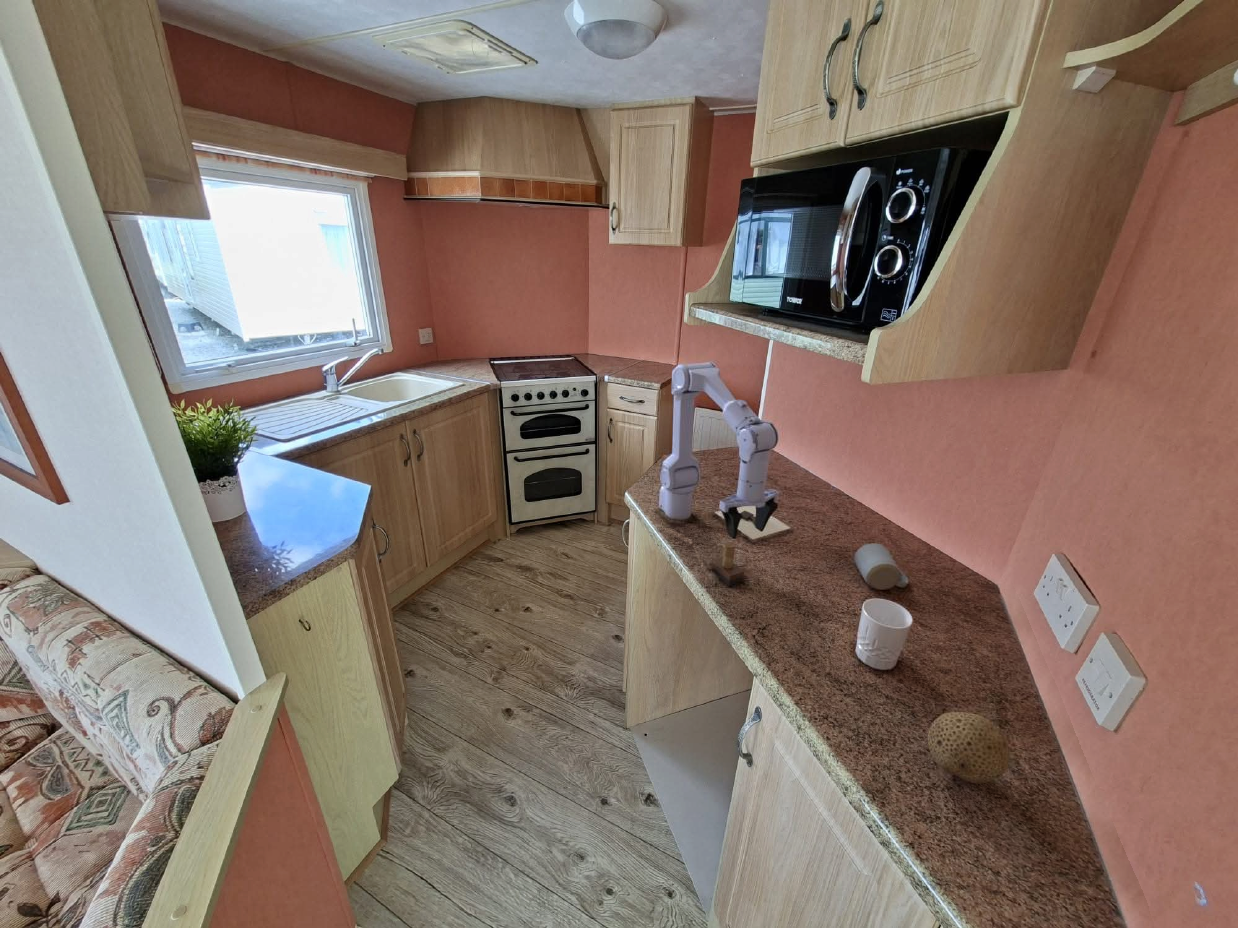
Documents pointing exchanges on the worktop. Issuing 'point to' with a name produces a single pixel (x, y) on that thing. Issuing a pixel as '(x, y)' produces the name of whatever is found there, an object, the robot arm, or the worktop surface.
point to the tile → (749, 527)
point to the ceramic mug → (879, 567)
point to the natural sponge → (968, 747)
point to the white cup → (882, 633)
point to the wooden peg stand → (727, 566)
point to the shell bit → (746, 515)
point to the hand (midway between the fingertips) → (745, 532)
